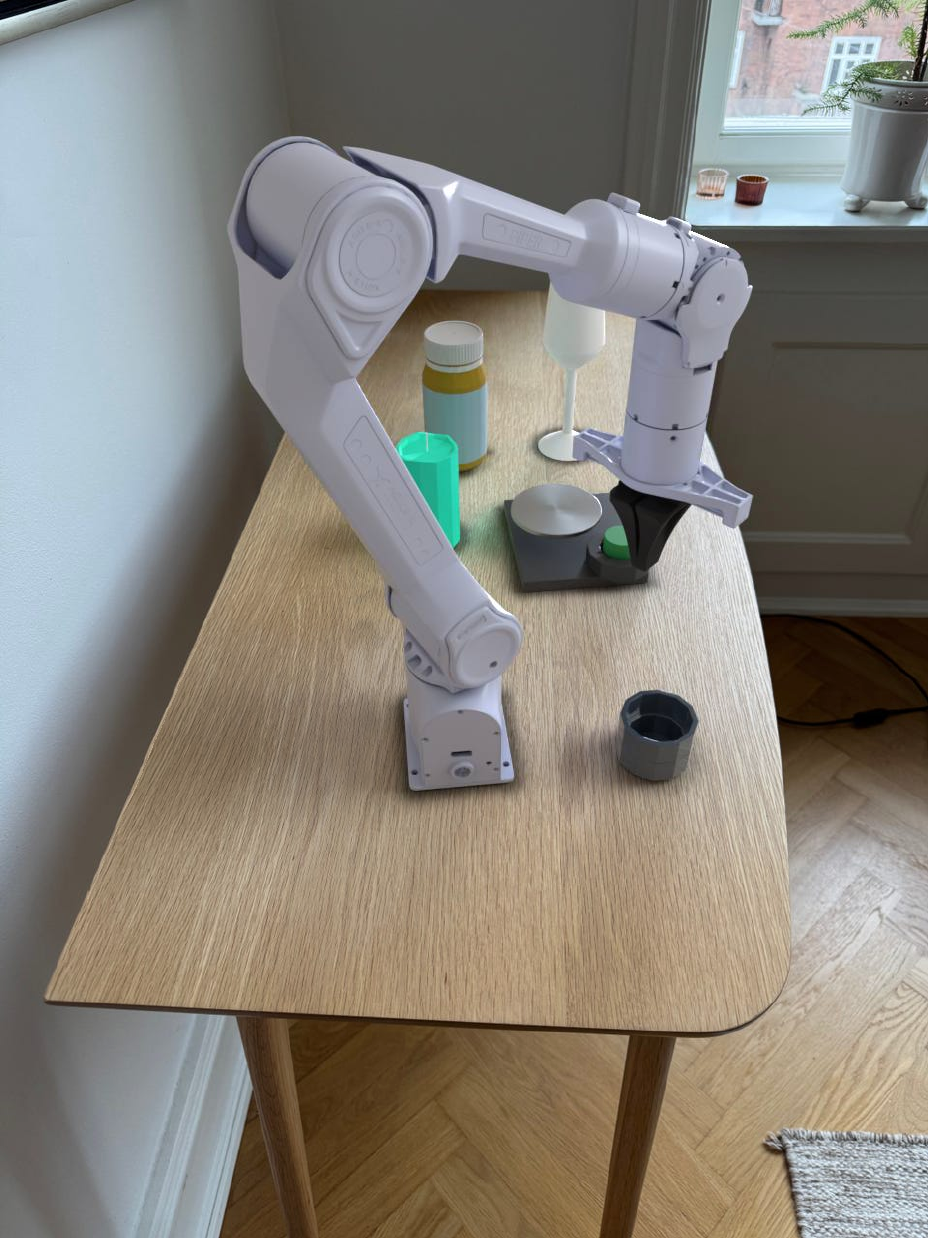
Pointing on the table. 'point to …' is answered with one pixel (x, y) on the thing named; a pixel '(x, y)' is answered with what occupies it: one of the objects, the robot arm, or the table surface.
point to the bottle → (456, 388)
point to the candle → (435, 476)
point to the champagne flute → (569, 360)
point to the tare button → (616, 543)
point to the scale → (570, 556)
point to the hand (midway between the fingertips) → (644, 562)
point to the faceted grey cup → (656, 734)
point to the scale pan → (556, 511)
